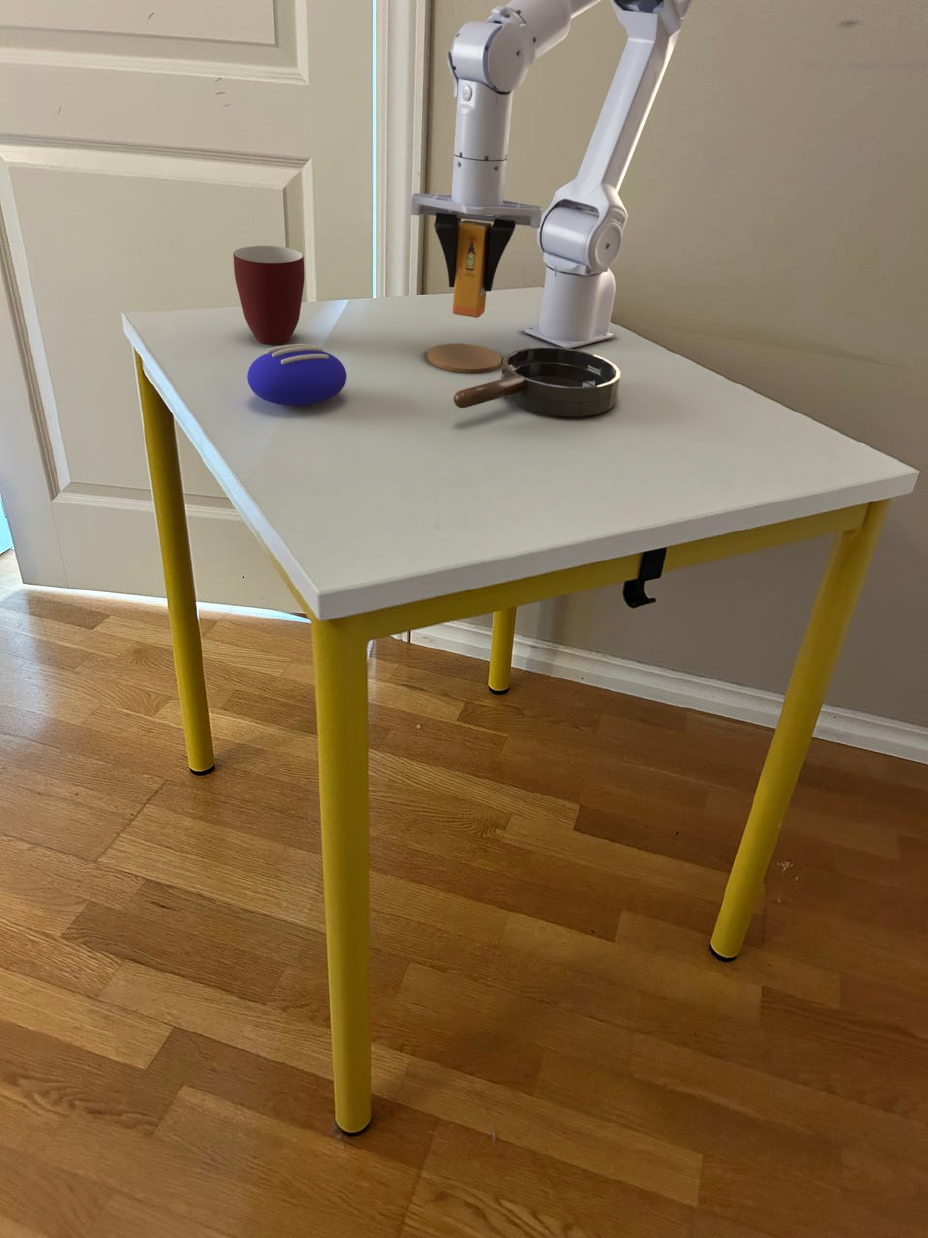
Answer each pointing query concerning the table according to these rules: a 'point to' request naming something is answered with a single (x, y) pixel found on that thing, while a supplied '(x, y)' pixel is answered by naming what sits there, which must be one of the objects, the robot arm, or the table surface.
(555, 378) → the pan
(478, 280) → the supplement box
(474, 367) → the disc
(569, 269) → the robot arm
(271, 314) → the mug
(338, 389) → the decorative object
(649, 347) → the table surface
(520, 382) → the pan handle
